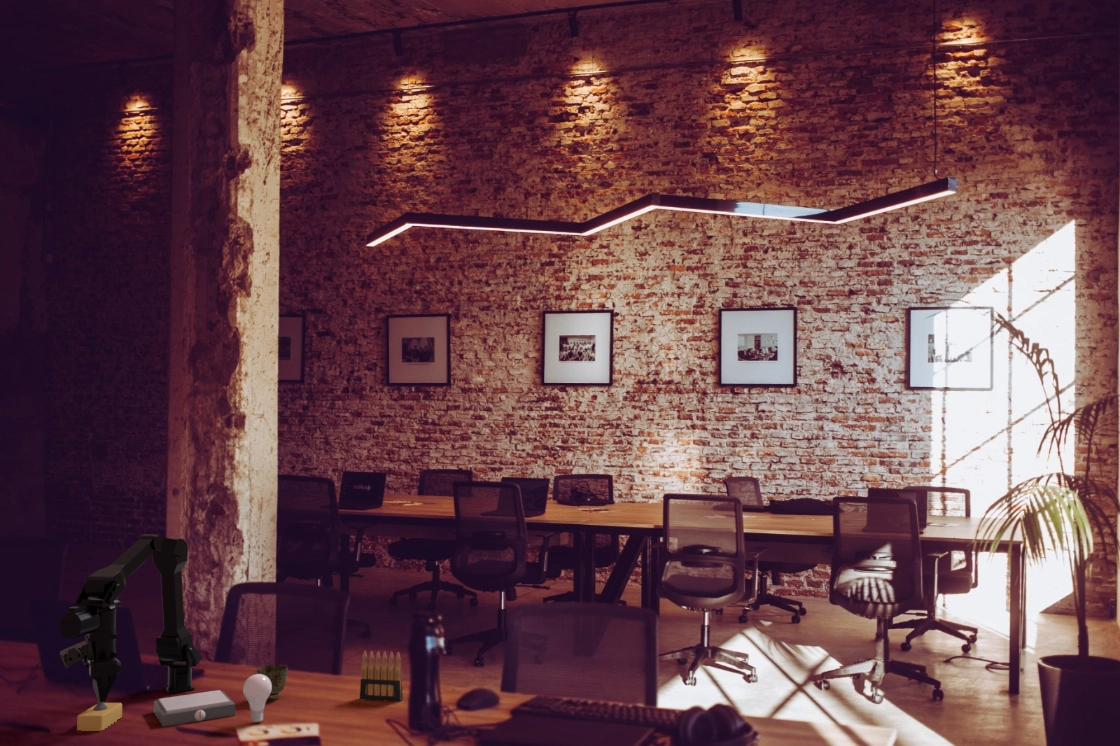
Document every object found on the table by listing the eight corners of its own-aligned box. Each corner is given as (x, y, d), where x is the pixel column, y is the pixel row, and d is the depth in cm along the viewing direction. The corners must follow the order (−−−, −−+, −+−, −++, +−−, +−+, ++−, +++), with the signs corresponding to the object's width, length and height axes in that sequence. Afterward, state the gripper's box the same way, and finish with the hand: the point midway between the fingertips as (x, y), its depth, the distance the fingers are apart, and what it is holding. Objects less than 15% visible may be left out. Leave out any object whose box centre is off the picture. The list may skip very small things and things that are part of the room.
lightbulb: (245, 728, 215) (245, 679, 216) (240, 720, 221) (241, 672, 222) (273, 724, 218) (274, 675, 219) (268, 716, 224) (269, 669, 225)
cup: (292, 695, 242) (292, 663, 242) (280, 703, 234) (281, 670, 235) (263, 694, 242) (264, 662, 243) (251, 703, 235) (252, 670, 236)
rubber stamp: (101, 732, 214) (103, 678, 214) (76, 732, 214) (77, 678, 214) (122, 718, 224) (123, 666, 224) (98, 718, 224) (99, 666, 224)
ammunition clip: (359, 699, 238) (359, 651, 238) (362, 697, 240) (362, 649, 240) (400, 701, 236) (400, 652, 237) (402, 699, 238) (403, 651, 238)
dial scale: (153, 712, 228) (153, 698, 228) (222, 701, 236) (222, 688, 237) (163, 727, 216) (163, 713, 217) (235, 715, 225) (235, 702, 225)
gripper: (59, 626, 223) (57, 693, 223) (66, 641, 208) (64, 714, 207) (111, 620, 229) (110, 686, 229) (122, 635, 214) (120, 706, 213)
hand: (100, 698), depth 219 cm, fingers open, 7 cm apart
